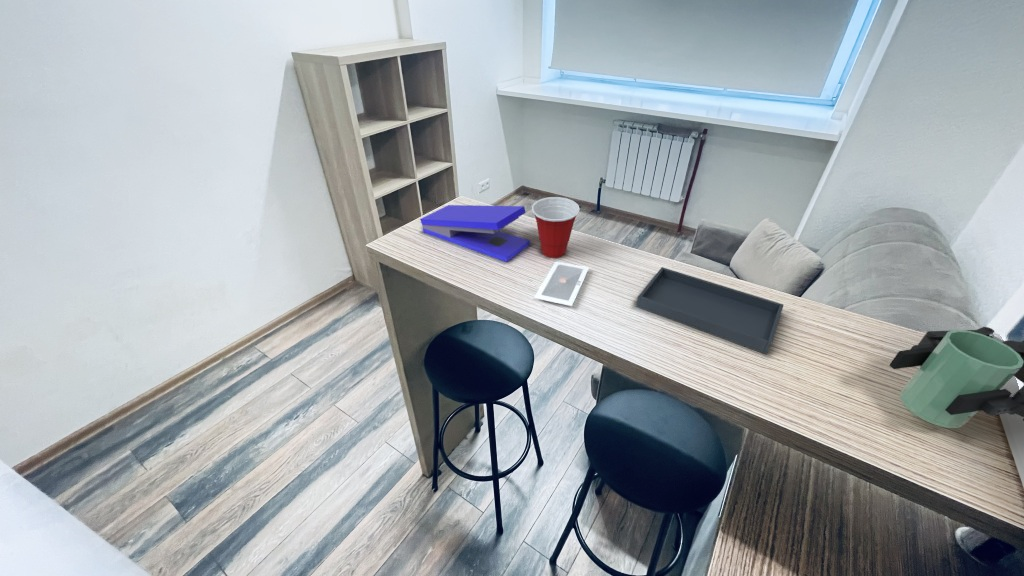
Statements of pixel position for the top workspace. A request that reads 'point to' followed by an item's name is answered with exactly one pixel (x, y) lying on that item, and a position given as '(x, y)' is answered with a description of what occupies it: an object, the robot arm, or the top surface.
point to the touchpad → (562, 283)
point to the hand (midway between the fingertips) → (924, 381)
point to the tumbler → (958, 375)
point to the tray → (712, 308)
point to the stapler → (477, 228)
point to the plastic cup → (555, 224)
